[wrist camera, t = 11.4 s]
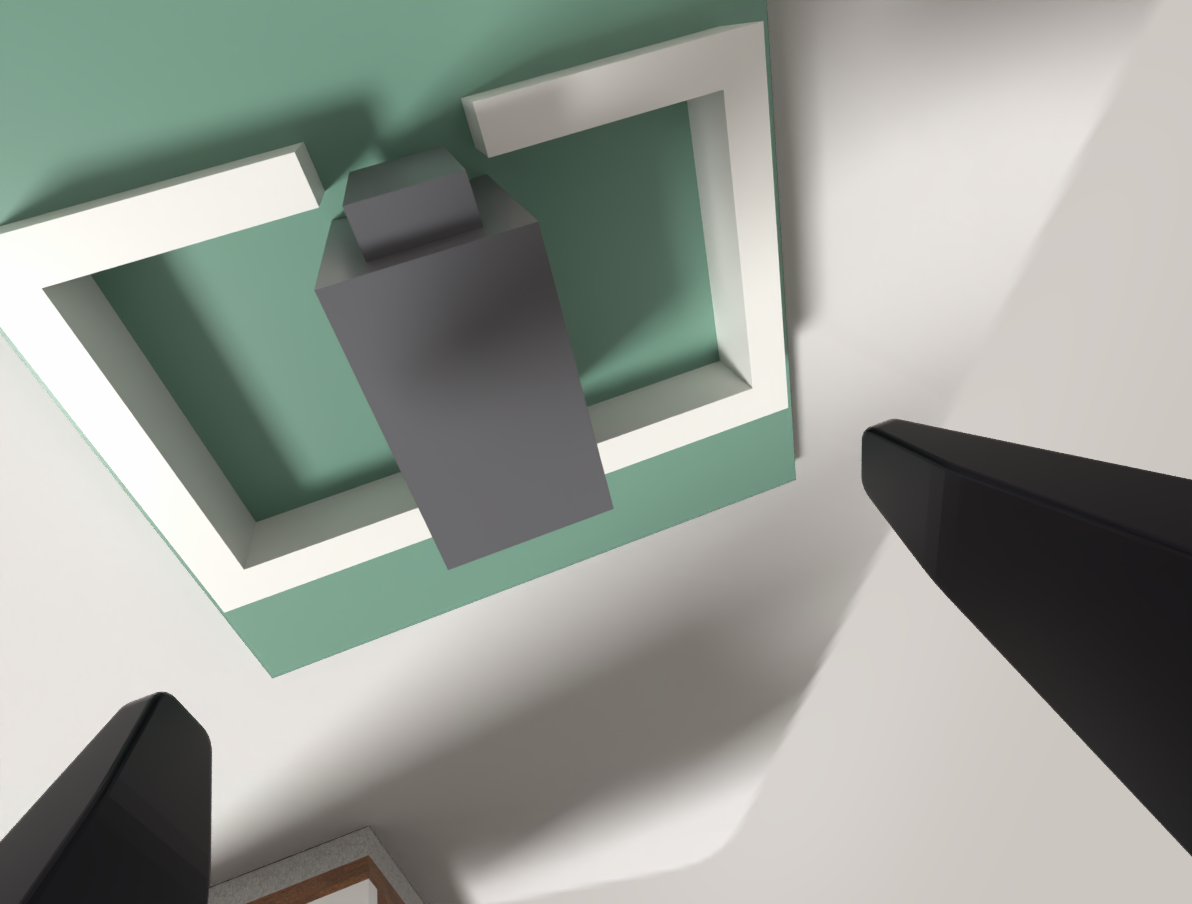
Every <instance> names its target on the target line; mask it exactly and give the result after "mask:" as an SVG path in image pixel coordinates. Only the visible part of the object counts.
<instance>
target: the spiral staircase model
mask: <svg viewBox="0 0 1192 904" xmlns="http://www.w3.org/2000/svg"><path fill="white" fill-rule="evenodd" d="M208 904H424V902H423V901H422V900H421V898H420V897H419V895H418V894H417V893H416V891H415V890H414V889H413V887H412V886H411V884H410V883H409V882H408V880H407V879H406V877H405V876H404V875H403V873H402V872H401V870H400V869H399V868H398V866H397V865H396V863H395V862H394V861H393V859H392V858H391V856H390V855H389V854H388V852H387V851H386V849H385V848H384V847H383V845H382V844H381V842H380V841H379V840H378V838H377V837H376V836H375V834H374V833H373V831H372V830H371V829H370V827H369V826H368V827H365V828H363V829H360V830H358V831H355V832H353V833H350V834H347V835H345V836H342V837H340V838H337V839H335V840H332V841H329V842H327V843H324V844H322V845H319V846H316V847H314V848H311V849H309V850H306V851H304V852H301V853H298V854H296V855H293V856H291V857H288V858H286V859H283V860H280V861H278V862H275V863H273V864H270V865H268V866H265V867H262V868H260V869H257V870H255V871H252V872H250V873H247V874H244V875H242V876H239V877H237V878H234V879H232V880H229V881H226V882H224V883H221V884H219V885H216V886H214V887H211V888H209V898H208Z"/></svg>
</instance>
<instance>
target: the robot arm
mask: <svg viewBox="0 0 1192 904" xmlns="http://www.w3.org/2000/svg"><path fill="white" fill-rule="evenodd" d="M862 483H863V486H864V489H865V491H866V493H867V495H868V496H869V498H870V499H871V500H872V502H873V503H874V504H875V506H876V507H877V508H878V510H879V511H880V512H881V514H882V515H883V516H884V518H885V519H886V520H887V521H888V523H889V524H890V525H891V527H892V528H893V529H894V531H895V532H896V533H897V535H898V536H899V537H900V539H901V540H902V541H903V543H904V544H905V545H906V546H907V548H908V549H909V550H910V552H911V553H912V554H913V556H914V557H915V558H916V560H917V561H918V562H919V564H920V565H921V566H922V568H923V569H924V570H925V571H926V573H927V574H928V575H929V576H930V578H931V579H932V580H933V581H934V582H935V584H936V585H937V586H938V587H939V588H940V589H941V590H942V591H943V592H944V594H945V595H946V596H947V597H948V598H949V599H950V600H951V601H952V602H953V603H954V604H955V605H956V606H957V608H958V609H959V610H960V611H961V612H962V613H963V614H964V615H965V616H966V617H967V618H968V619H969V620H970V621H971V622H972V623H973V624H974V626H976V628H977V629H978V630H979V631H980V632H981V633H982V634H983V635H984V636H985V637H986V638H987V639H988V640H989V642H990V643H991V644H992V645H993V646H994V647H995V648H996V649H997V650H998V651H999V652H1000V653H1001V654H1002V655H1003V656H1004V657H1005V658H1006V660H1007V661H1008V662H1009V663H1010V664H1011V665H1012V666H1013V667H1014V668H1015V669H1016V670H1017V671H1018V672H1019V673H1020V674H1021V676H1022V677H1023V678H1024V679H1025V680H1026V681H1027V682H1028V683H1029V684H1030V685H1031V686H1032V687H1033V688H1034V689H1035V690H1036V691H1037V692H1038V694H1039V695H1040V696H1041V697H1042V698H1043V699H1044V700H1045V701H1046V702H1047V703H1048V704H1049V705H1050V706H1051V707H1052V708H1053V710H1054V711H1055V712H1056V713H1057V714H1058V715H1059V716H1060V717H1061V718H1062V719H1063V720H1064V721H1065V722H1066V723H1067V724H1068V725H1069V727H1070V728H1072V730H1073V731H1074V732H1076V734H1077V735H1078V736H1079V737H1080V738H1081V739H1082V740H1083V741H1084V742H1085V744H1086V745H1087V746H1088V747H1089V748H1090V749H1091V750H1092V751H1093V752H1094V753H1095V754H1096V755H1097V756H1098V757H1099V758H1100V759H1101V761H1102V762H1103V763H1104V764H1105V765H1106V766H1107V767H1108V768H1109V769H1110V770H1111V771H1112V772H1113V773H1114V774H1115V775H1116V777H1117V778H1118V779H1119V780H1120V781H1121V782H1122V783H1123V784H1124V785H1125V786H1126V787H1127V788H1128V789H1129V790H1130V791H1131V792H1132V793H1133V795H1134V796H1135V797H1136V798H1137V799H1138V800H1139V801H1140V802H1141V803H1142V804H1143V805H1144V806H1145V807H1146V808H1147V809H1148V810H1149V812H1151V814H1152V815H1153V816H1154V817H1155V818H1156V819H1157V820H1158V821H1159V822H1160V823H1161V824H1162V825H1163V826H1164V828H1165V829H1166V830H1167V831H1168V832H1169V833H1170V834H1171V835H1172V836H1173V837H1174V838H1175V839H1176V840H1177V841H1178V842H1179V843H1180V845H1181V846H1182V847H1183V848H1184V849H1185V850H1186V851H1187V852H1188V853H1189V854H1190V855H1191V856H1192V480H1191V479H1186V478H1181V477H1176V476H1171V475H1166V474H1162V473H1156V472H1151V471H1147V470H1142V469H1137V468H1132V467H1128V466H1122V465H1118V464H1113V463H1108V462H1103V461H1098V460H1093V459H1088V458H1083V457H1079V456H1074V455H1069V454H1064V453H1059V452H1054V451H1050V450H1045V449H1040V448H1035V447H1030V446H1026V445H1020V444H1015V443H1011V442H1006V441H1001V440H996V439H991V438H987V437H982V436H977V435H972V434H967V433H962V432H957V431H953V430H948V429H943V428H938V427H933V426H928V425H924V424H919V423H914V422H909V421H904V420H899V419H891V420H887V421H885V422H882V423H879V424H877V425H874V426H871V427H869V428H867V429H866V430H865V431H864V433H863V436H862ZM211 798H212V747H211V742H210V739H209V736H208V734H207V732H206V731H205V729H204V728H203V727H202V726H201V725H200V724H199V722H198V721H197V720H196V719H195V718H194V717H193V716H192V715H191V714H190V713H189V712H188V711H187V710H186V709H185V708H184V707H183V705H182V704H181V703H180V702H179V701H178V700H177V699H176V698H175V697H174V696H173V695H171V694H169V693H167V692H156V693H154V694H151V695H148V696H146V697H143V698H140V699H138V700H135V701H132V702H130V703H128V704H126V705H125V706H123V707H122V708H121V709H120V710H119V711H118V712H117V713H116V714H115V715H114V716H113V718H112V719H111V720H110V721H109V722H108V723H107V724H106V725H105V726H104V728H103V729H102V730H101V731H100V732H99V733H98V734H97V735H96V736H95V737H94V739H93V740H92V741H91V742H90V743H89V744H88V745H87V746H86V747H85V749H84V750H83V751H82V752H81V753H80V754H79V755H78V756H77V757H76V758H75V760H74V761H73V762H72V763H71V764H70V765H69V766H68V767H67V768H66V770H65V771H64V772H63V773H62V774H61V775H60V776H59V777H58V778H57V780H56V781H55V782H54V783H53V784H52V785H51V786H50V787H49V788H48V789H47V791H46V792H45V793H44V794H43V795H42V796H41V797H40V798H39V799H38V801H37V802H36V803H35V804H34V805H33V806H32V807H31V808H30V809H29V810H28V812H27V813H26V814H25V815H24V816H23V817H22V818H21V819H20V820H19V822H18V823H17V824H16V825H15V826H14V827H13V828H12V829H11V830H10V831H9V833H8V834H7V835H6V836H5V837H4V838H3V839H2V840H1V841H0V904H208V898H209V887H210V872H211Z"/></svg>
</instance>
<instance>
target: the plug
mask: <svg viewBox="0 0 1192 904" xmlns="http://www.w3.org/2000/svg"><path fill="white" fill-rule="evenodd" d="M342 207H343V209H344V211H345V214H346V216H344V217H341V218H337V219H334V220H332V221H331V225H330V229H329V233H328V237H327V241H326V245H325V249H324V253H323V257H322V261H321V265H320V269H319V273H318V277H317V281H316V285H315V289H314V291H315V293H316V295H317V297H318V299H319V301H320V303H321V305H322V308H323V310H324V312H325V314H326V316H327V318H328V320H329V322H330V324H331V326H332V329H333V331H334V333H335V335H336V337H337V339H338V341H339V343H340V345H341V347H342V349H343V352H344V354H345V356H346V358H347V360H348V362H349V364H350V366H351V368H352V370H353V372H354V375H355V377H356V379H357V381H358V383H359V385H360V387H361V389H362V391H363V393H364V395H365V398H366V400H367V402H368V404H369V406H370V408H371V410H372V412H373V414H374V416H375V418H376V421H377V423H378V425H379V427H380V429H381V431H382V433H383V435H384V437H385V439H386V441H387V444H388V446H389V448H390V450H391V452H392V454H393V456H394V458H395V460H396V462H397V465H398V467H399V469H400V471H401V473H402V475H403V477H404V479H405V481H406V483H407V485H408V488H409V490H410V492H411V494H412V496H413V498H414V500H415V502H416V504H417V506H418V508H419V511H420V513H421V515H422V517H423V519H424V521H425V523H426V525H427V527H428V529H429V531H430V534H431V536H432V538H433V540H434V542H435V544H436V546H437V548H438V550H439V552H440V554H441V557H442V559H443V561H444V563H445V565H446V567H447V569H448V570H450V569H453V568H456V567H458V566H461V565H464V564H466V563H469V562H472V561H475V560H477V559H480V558H483V557H485V556H488V555H491V554H493V553H496V552H499V551H502V550H504V549H507V548H510V547H512V546H515V545H518V544H520V543H523V542H526V541H529V540H531V539H534V538H537V537H539V536H542V535H545V534H547V533H550V532H553V531H556V530H558V529H561V528H564V527H566V526H569V525H572V524H574V523H577V522H580V521H583V520H585V519H588V518H591V517H593V516H596V515H599V514H601V513H604V512H607V511H610V510H612V509H614V507H613V503H612V500H611V496H610V492H609V488H608V484H607V481H606V477H605V473H604V469H603V465H602V462H601V458H600V454H599V450H598V446H597V443H596V439H595V435H594V431H593V427H592V424H591V420H590V416H589V412H588V408H587V405H586V401H585V397H584V393H583V389H582V386H581V382H580V378H579V374H578V370H577V366H576V363H575V359H574V355H573V351H572V347H571V344H570V340H569V336H568V332H567V328H566V325H565V321H564V317H563V313H562V309H561V306H560V302H559V298H558V294H557V290H556V287H555V283H554V279H553V275H552V271H551V268H550V264H549V260H548V256H547V252H546V249H545V245H544V241H543V237H542V233H541V230H540V226H539V222H538V221H537V220H536V219H535V218H534V217H533V216H532V215H531V214H530V213H529V212H528V211H526V210H525V209H524V208H523V207H522V206H521V205H520V204H519V203H518V202H517V201H516V200H514V199H513V198H512V197H511V196H510V195H509V194H508V193H507V192H506V191H505V190H504V189H502V188H501V187H500V186H499V185H498V184H497V183H496V182H495V181H494V180H493V179H492V178H491V177H489V176H488V175H484V176H480V177H477V178H473V179H470V180H469V178H468V175H467V172H466V170H465V169H464V168H463V166H462V165H461V164H460V163H459V162H458V161H457V160H456V159H455V158H454V157H453V156H452V155H451V154H450V152H449V151H448V150H447V149H446V148H445V147H444V146H443V145H442V146H439V147H435V148H432V149H428V150H425V151H421V152H418V153H414V154H411V155H407V156H404V157H400V158H397V159H393V160H390V161H386V162H383V163H379V164H376V165H372V166H369V167H365V168H362V169H358V170H355V171H351V172H349V175H348V180H347V185H346V190H345V195H344V200H343V205H342Z"/></svg>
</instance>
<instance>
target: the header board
mask: <svg viewBox="0 0 1192 904" xmlns="http://www.w3.org/2000/svg"><path fill="white" fill-rule="evenodd" d="M442 145H443V146H444V147H445V148H446V149H447V150H448V151H449V152H450V154H451V155H452V156H453V157H454V158H455V159H456V160H457V161H458V162H459V163H460V164H461V165H462V166H463V168H464V169H465V170H466V172H467V175H468V178H469V180H470V179H473V178H477V177H480V176H484V175H488V176H489V177H491V178H492V179H493V180H494V181H495V182H496V183H497V184H498V185H499V186H500V187H501V188H502V189H504V190H505V191H506V192H507V193H508V194H509V195H510V196H511V197H512V198H513V199H514V200H516V201H517V202H518V203H519V204H520V205H521V206H522V207H523V208H524V209H525V210H526V211H528V212H529V213H530V214H531V215H532V216H533V217H534V218H535V219H536V220H537V221H538V222H539V226H540V230H541V233H542V237H543V241H544V245H545V249H546V252H547V256H548V260H549V264H550V268H551V271H552V275H553V279H554V283H555V287H556V290H557V294H558V298H559V302H560V306H561V309H562V313H563V317H564V321H565V325H566V328H567V332H568V336H569V340H570V344H571V347H572V351H573V355H574V359H575V363H576V366H577V370H578V374H579V378H580V382H581V386H582V389H583V393H584V397H585V401H586V405H587V408H588V412H589V416H590V420H591V424H592V427H593V431H594V435H595V439H596V443H597V446H598V450H599V454H600V458H601V462H602V465H603V469H604V473H605V477H606V481H607V484H608V488H609V492H610V496H611V500H612V503H613V507H614V509H612V510H610V511H607V512H604V513H601V514H599V515H596V516H593V517H591V518H588V519H585V520H583V521H580V522H577V523H574V524H572V525H569V526H566V527H564V528H561V529H558V530H556V531H553V532H550V533H547V534H545V535H542V536H539V537H537V538H534V539H531V540H529V541H526V542H523V543H520V544H518V545H515V546H512V547H510V548H507V549H504V550H502V551H499V552H496V553H493V554H491V555H488V556H485V557H483V558H480V559H477V560H475V561H472V562H469V563H466V564H464V565H461V566H458V567H456V568H453V569H450V570H448V569H447V567H446V565H445V563H444V561H443V559H442V557H441V554H440V552H439V550H438V548H437V546H436V544H435V542H434V540H433V538H432V536H431V534H430V531H429V529H428V527H427V525H426V523H425V521H424V519H423V517H422V515H421V513H420V511H419V508H418V506H417V504H416V502H415V500H414V498H413V496H412V494H411V492H410V490H409V488H408V485H407V483H406V481H405V479H404V477H403V475H402V473H401V471H400V469H399V467H398V465H397V462H396V460H395V458H394V456H393V454H392V452H391V450H390V448H389V446H388V444H387V441H386V439H385V437H384V435H383V433H382V431H381V429H380V427H379V425H378V423H377V421H376V418H375V416H374V414H373V412H372V410H371V408H370V406H369V404H368V402H367V400H366V398H365V395H364V393H363V391H362V389H361V387H360V385H359V383H358V381H357V379H356V377H355V375H354V372H353V370H352V368H351V366H350V364H349V362H348V360H347V358H346V356H345V354H344V352H343V349H342V347H341V345H340V343H339V341H338V339H337V337H336V335H335V333H334V331H333V329H332V326H331V324H330V322H329V320H328V318H327V316H326V314H325V312H324V310H323V308H322V305H321V303H320V301H319V299H318V297H317V295H316V293H315V291H314V289H315V285H316V281H317V277H318V273H319V269H320V265H321V261H322V257H323V253H324V249H325V245H326V241H327V237H328V233H329V229H330V225H331V221H332V220H334V219H337V218H341V217H344V216H346V214H345V211H344V209H343V207H342V205H343V200H344V195H345V190H346V185H347V180H348V175H349V172H351V171H355V170H358V169H362V168H365V167H369V166H372V165H376V164H379V163H383V162H386V161H390V160H393V159H397V158H400V157H404V156H407V155H411V154H414V153H418V152H421V151H425V150H428V149H432V148H435V147H439V146H442ZM0 333H1V335H2V336H3V337H4V338H5V340H6V341H7V342H8V343H9V345H10V346H11V347H12V348H13V350H14V351H15V352H16V354H17V355H18V356H19V357H20V359H21V360H22V361H23V362H24V364H25V365H26V366H27V368H28V369H29V370H30V371H31V373H32V374H33V375H34V376H35V378H36V379H37V380H38V381H39V383H40V384H41V385H42V387H43V388H44V389H45V390H46V392H47V393H48V394H49V395H50V397H51V398H52V399H53V401H54V402H55V403H56V404H57V406H58V407H59V408H60V409H61V411H62V412H63V413H64V414H65V416H66V417H67V418H68V420H69V421H70V422H71V423H72V425H73V426H74V427H75V428H76V430H77V431H78V432H79V434H80V435H81V436H82V437H83V439H84V440H85V441H86V442H87V444H88V445H89V446H90V447H91V449H92V450H93V451H94V453H95V454H96V455H97V456H98V458H99V459H100V460H101V461H102V463H103V464H104V465H105V467H106V468H107V469H108V470H109V472H110V473H111V474H112V475H113V477H114V478H115V479H116V480H117V482H118V483H119V484H120V486H121V487H122V488H123V489H124V491H125V492H126V493H127V494H128V496H129V497H130V498H131V500H132V501H133V502H134V503H135V505H136V506H137V507H138V508H139V510H140V511H141V512H142V513H143V515H144V516H145V517H146V519H147V520H148V521H149V522H150V524H151V525H152V526H153V527H154V529H155V530H156V531H157V533H158V534H159V535H160V536H161V538H162V539H163V540H164V541H165V543H166V544H167V545H168V547H169V548H170V549H171V550H172V552H173V553H174V554H175V555H176V557H177V558H178V559H179V560H180V562H181V563H182V564H183V566H184V567H185V568H186V569H187V571H188V572H189V573H190V574H191V576H192V577H193V578H194V580H195V581H196V582H197V583H198V585H199V586H200V587H201V588H202V590H203V591H204V592H205V593H206V595H207V596H208V597H209V599H210V600H211V601H212V602H213V604H214V605H215V606H216V607H217V609H218V610H219V611H220V613H221V614H222V615H223V616H224V618H225V619H226V620H227V621H228V623H229V624H230V625H231V626H232V628H233V629H234V630H235V632H236V633H237V634H238V635H239V637H240V638H241V639H242V640H243V642H244V643H245V644H246V646H247V647H248V648H249V649H250V651H251V652H252V653H253V654H254V656H255V657H256V658H257V659H258V661H259V662H260V663H261V665H262V666H263V667H264V668H265V670H266V671H267V672H268V673H269V675H270V676H271V677H272V678H275V677H277V676H280V675H283V674H285V673H288V672H291V671H293V670H296V669H298V668H301V667H304V666H306V665H309V664H312V663H314V662H317V661H320V660H322V659H325V658H327V657H330V656H333V655H335V654H338V653H341V652H343V651H346V650H349V649H351V648H354V647H356V646H359V645H362V644H364V643H367V642H370V641H372V640H375V639H378V638H380V637H383V636H385V635H388V634H391V633H393V632H396V631H399V630H401V629H404V628H406V627H409V626H412V625H414V624H417V623H420V622H422V621H425V620H428V619H430V618H433V617H435V616H438V615H441V614H443V613H446V612H449V611H451V610H454V609H457V608H459V607H462V606H464V605H467V604H470V603H472V602H475V601H478V600H480V599H483V598H486V597H488V596H491V595H493V594H496V593H499V592H501V591H504V590H507V589H509V588H512V587H515V586H517V585H520V584H522V583H525V582H528V581H530V580H533V579H536V578H538V577H541V576H544V575H546V574H549V573H551V572H554V571H557V570H559V569H562V568H565V567H567V566H570V565H572V564H575V563H578V562H580V561H583V560H586V559H588V558H591V557H594V556H596V555H599V554H601V553H604V552H607V551H609V550H612V549H615V548H617V547H620V546H623V545H625V544H628V543H630V542H633V541H636V540H638V539H641V538H644V537H646V536H649V535H652V534H654V533H657V532H659V531H662V530H665V529H667V528H670V527H673V526H675V525H678V524H681V523H683V522H686V521H688V520H691V519H694V518H696V517H699V516H702V515H704V514H707V513H709V512H712V511H715V510H717V509H720V508H723V507H725V506H728V505H731V504H733V503H736V502H738V501H741V500H744V499H746V498H749V497H752V496H754V495H757V494H760V493H762V492H765V491H767V490H770V489H773V488H775V487H778V486H781V485H783V484H786V483H789V482H791V481H794V480H796V473H795V457H794V441H793V424H792V408H791V392H790V375H789V359H788V343H787V326H786V310H785V294H784V278H783V261H782V245H781V229H780V212H779V196H778V180H777V163H776V147H775V131H774V115H773V98H772V82H771V66H770V49H769V33H768V17H767V0H0Z"/></svg>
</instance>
